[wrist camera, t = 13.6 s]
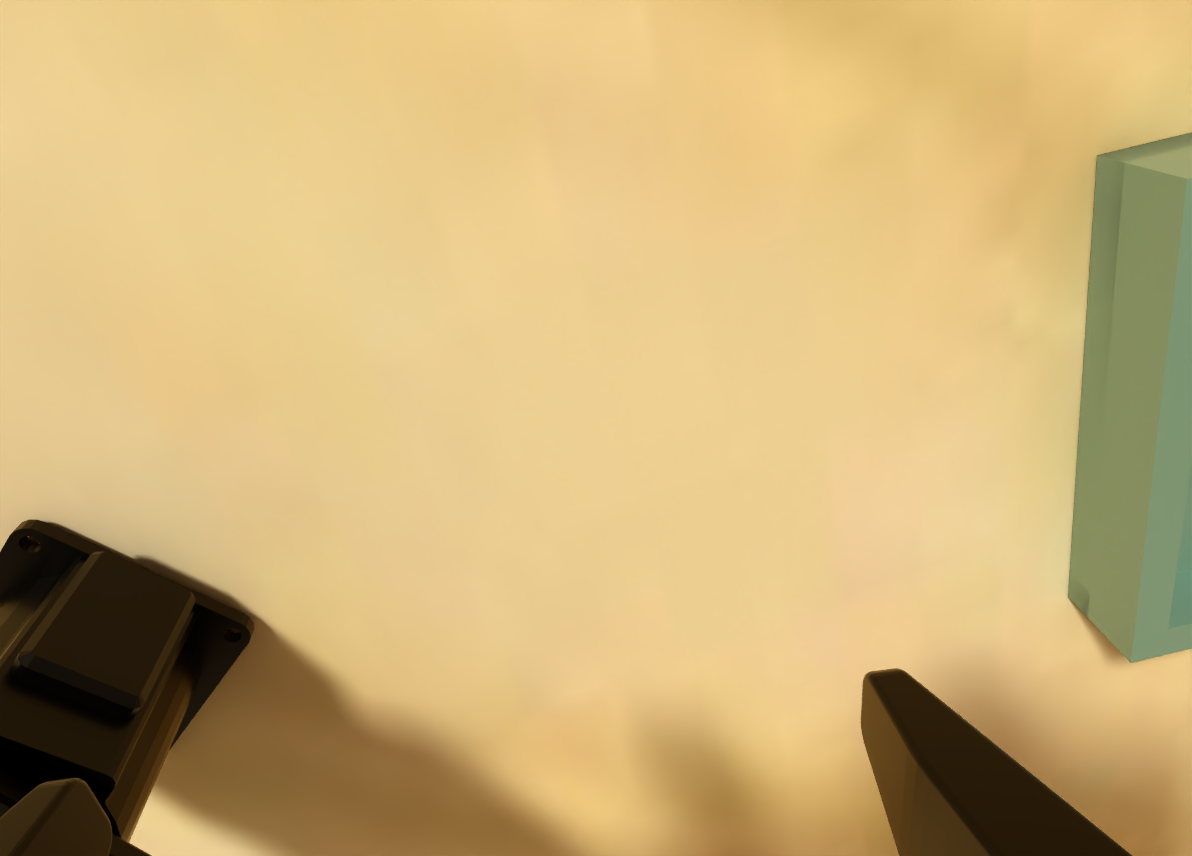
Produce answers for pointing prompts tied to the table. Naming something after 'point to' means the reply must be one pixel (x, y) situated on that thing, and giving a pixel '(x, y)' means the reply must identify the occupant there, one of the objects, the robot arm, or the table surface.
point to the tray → (1137, 405)
